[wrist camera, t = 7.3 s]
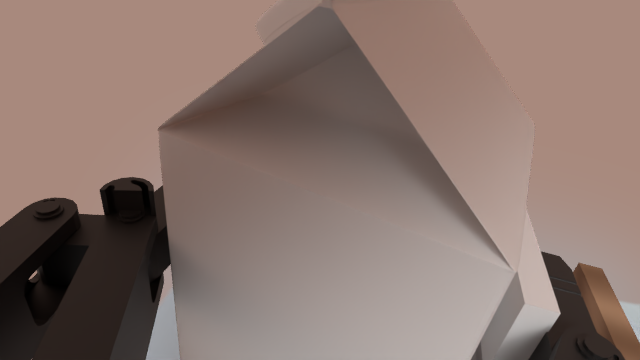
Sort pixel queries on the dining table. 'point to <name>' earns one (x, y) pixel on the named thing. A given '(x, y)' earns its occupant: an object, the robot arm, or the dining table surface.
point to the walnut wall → (606, 310)
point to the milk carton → (347, 189)
